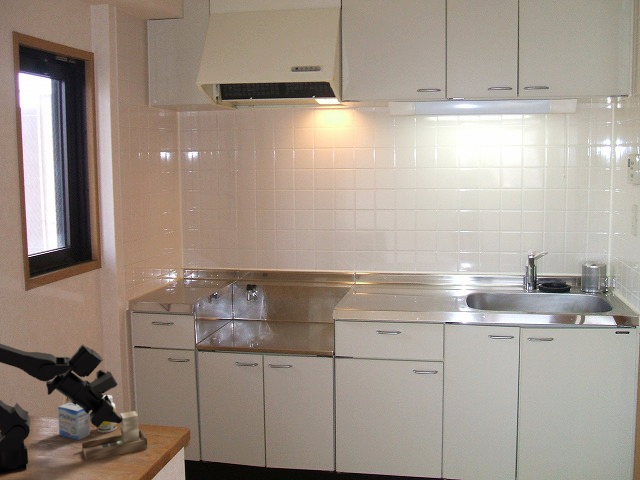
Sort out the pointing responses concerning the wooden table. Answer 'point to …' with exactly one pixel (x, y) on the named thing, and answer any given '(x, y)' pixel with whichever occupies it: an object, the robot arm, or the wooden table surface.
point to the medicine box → (73, 421)
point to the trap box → (112, 446)
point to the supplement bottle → (108, 425)
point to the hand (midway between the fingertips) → (120, 421)
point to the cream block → (129, 427)
